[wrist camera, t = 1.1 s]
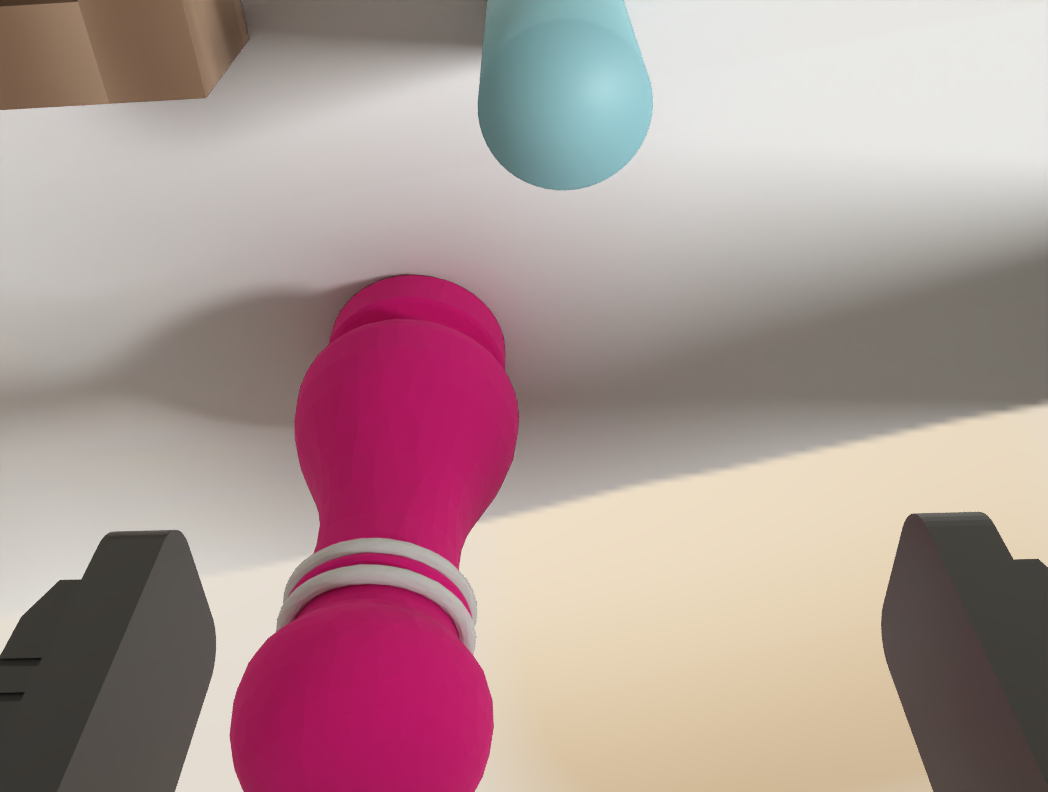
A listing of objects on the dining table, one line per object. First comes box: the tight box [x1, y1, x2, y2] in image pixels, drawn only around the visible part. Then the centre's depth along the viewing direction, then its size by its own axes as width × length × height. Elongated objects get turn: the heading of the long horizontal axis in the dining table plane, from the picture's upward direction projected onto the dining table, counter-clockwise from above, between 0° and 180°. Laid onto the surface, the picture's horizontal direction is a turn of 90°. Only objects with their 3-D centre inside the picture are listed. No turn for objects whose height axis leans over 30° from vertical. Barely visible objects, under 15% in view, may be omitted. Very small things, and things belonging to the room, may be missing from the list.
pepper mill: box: [230, 275, 519, 792], centre depth 28 cm, size 7×7×20 cm
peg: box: [478, 0, 653, 190], centre depth 24 cm, size 4×4×10 cm
